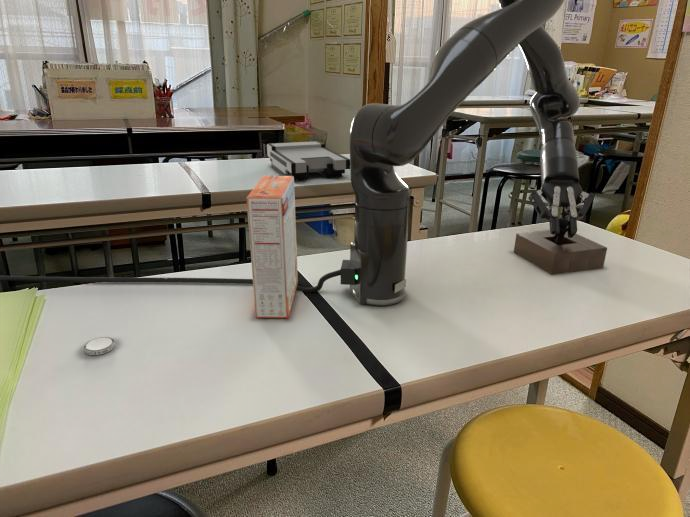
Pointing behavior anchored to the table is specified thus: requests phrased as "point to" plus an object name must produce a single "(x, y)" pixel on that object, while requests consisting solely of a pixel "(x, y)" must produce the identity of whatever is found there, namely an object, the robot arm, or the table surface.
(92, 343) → the silver round flat disc
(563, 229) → the chess piece
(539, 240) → the pad block
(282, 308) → the cracker box
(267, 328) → the table surface
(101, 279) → the robot arm
